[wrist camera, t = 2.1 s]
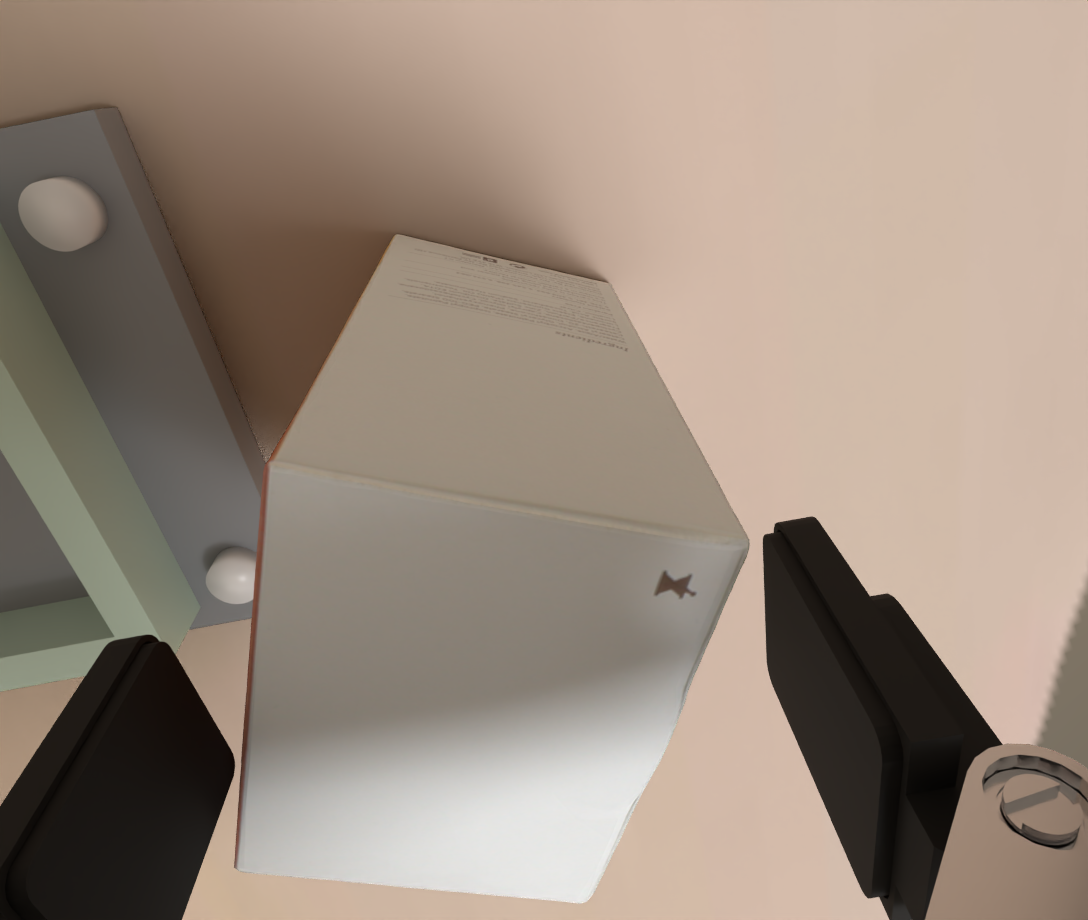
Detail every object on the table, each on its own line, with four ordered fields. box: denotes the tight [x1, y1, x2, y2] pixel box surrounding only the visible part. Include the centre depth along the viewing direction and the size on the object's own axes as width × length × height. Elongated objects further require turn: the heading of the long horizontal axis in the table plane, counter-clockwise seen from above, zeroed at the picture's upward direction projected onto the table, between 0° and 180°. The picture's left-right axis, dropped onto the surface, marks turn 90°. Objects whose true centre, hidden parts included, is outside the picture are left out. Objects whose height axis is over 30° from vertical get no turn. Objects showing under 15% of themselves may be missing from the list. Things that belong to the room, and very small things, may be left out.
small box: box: [234, 234, 749, 904], centre depth 16 cm, size 8×6×13 cm
